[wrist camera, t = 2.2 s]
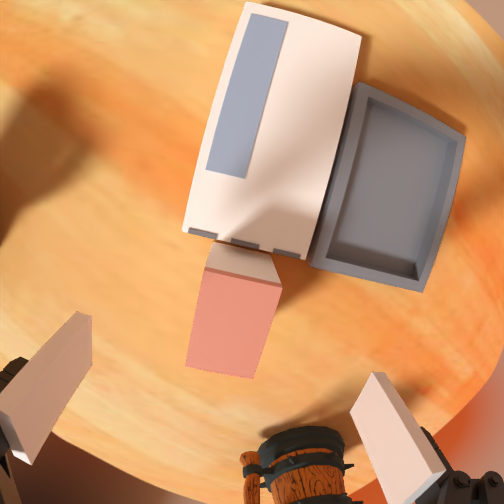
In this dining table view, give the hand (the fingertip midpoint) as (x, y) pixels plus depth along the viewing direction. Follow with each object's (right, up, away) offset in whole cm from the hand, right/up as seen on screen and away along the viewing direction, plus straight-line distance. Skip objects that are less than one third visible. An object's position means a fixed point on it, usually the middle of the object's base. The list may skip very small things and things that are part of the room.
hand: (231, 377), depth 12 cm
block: (-1, +3, +9) cm, 10 cm away
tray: (+11, +10, +8) cm, 16 cm away
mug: (+5, -16, +15) cm, 22 cm away
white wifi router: (+2, +14, +6) cm, 15 cm away
